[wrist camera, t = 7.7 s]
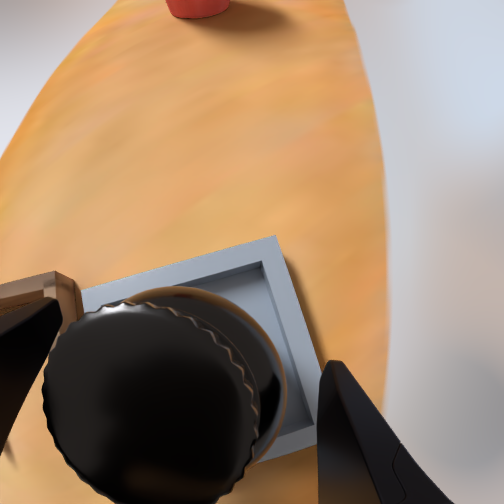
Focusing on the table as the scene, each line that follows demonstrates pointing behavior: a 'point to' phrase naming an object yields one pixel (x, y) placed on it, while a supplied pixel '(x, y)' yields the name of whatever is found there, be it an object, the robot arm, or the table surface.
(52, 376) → the supplement bottle
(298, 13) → the table surface
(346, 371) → the robot arm
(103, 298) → the tray
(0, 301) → the cradle
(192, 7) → the flower pot
